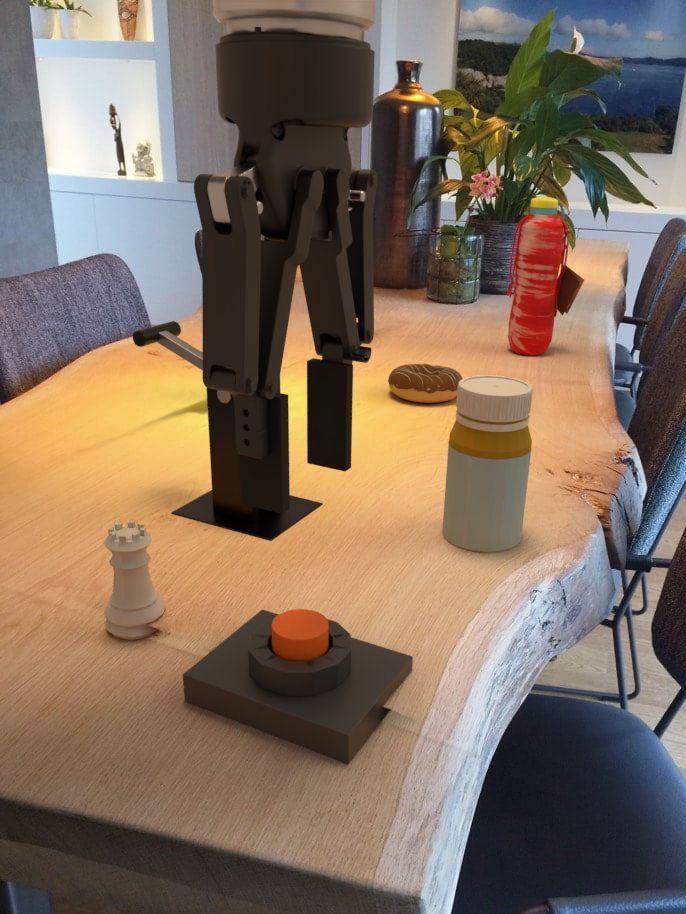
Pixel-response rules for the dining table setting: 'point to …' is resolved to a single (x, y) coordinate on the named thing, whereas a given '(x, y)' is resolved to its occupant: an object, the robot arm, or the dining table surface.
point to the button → (300, 635)
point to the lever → (169, 341)
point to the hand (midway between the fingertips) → (299, 484)
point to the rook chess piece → (131, 584)
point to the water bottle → (540, 278)
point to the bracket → (235, 482)
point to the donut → (424, 382)
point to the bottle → (488, 464)
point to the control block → (299, 687)
